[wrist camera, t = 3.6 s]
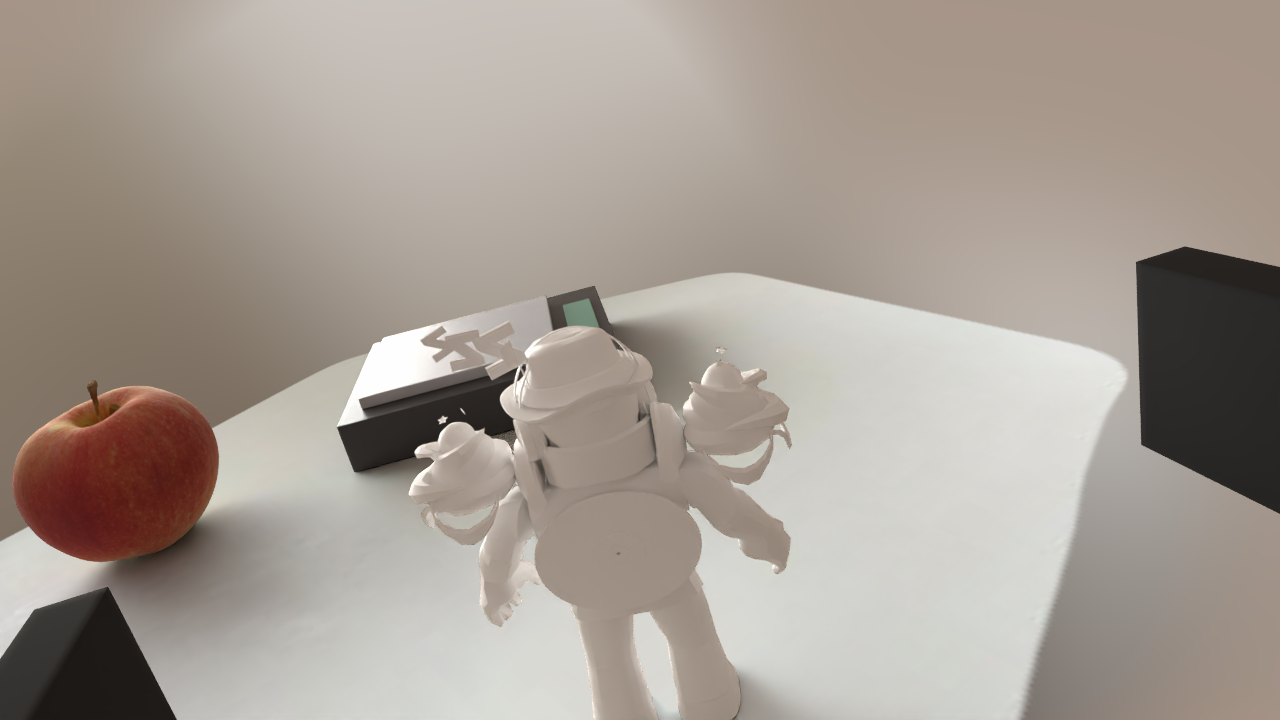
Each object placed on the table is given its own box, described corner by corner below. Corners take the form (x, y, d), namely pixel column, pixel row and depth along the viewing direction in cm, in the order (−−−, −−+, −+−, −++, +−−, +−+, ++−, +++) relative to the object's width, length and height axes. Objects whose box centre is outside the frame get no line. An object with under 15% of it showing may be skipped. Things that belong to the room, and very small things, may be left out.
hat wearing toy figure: (499, 797, 22) (335, 362, 18) (515, 688, 26) (381, 305, 22) (853, 727, 22) (770, 263, 18) (819, 626, 26) (743, 222, 21)
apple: (280, 486, 44) (216, 337, 41) (167, 588, 37) (81, 415, 34) (150, 499, 46) (82, 358, 43) (21, 596, 39) (-71, 435, 36)
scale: (604, 322, 56) (592, 276, 55) (632, 397, 44) (617, 339, 43) (386, 380, 56) (369, 334, 54) (354, 472, 43) (332, 416, 42)
